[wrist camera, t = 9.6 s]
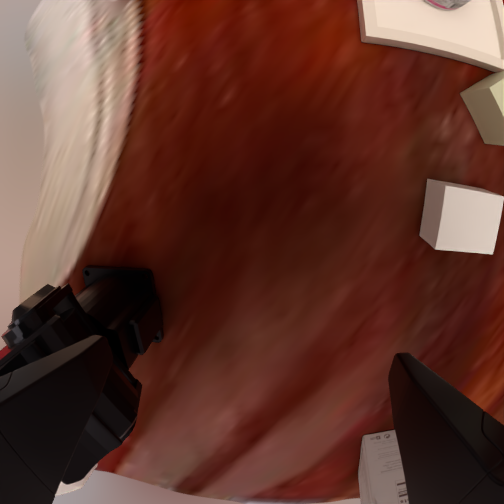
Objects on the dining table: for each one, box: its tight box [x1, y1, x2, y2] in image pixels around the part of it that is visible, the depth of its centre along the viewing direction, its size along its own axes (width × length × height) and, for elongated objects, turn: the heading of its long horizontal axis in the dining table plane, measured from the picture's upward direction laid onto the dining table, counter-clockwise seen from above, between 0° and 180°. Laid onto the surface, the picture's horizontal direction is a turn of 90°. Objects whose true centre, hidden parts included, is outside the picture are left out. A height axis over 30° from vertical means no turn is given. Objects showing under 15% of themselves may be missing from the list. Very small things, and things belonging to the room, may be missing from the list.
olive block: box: [460, 71, 504, 146], centre depth 14 cm, size 4×4×4 cm
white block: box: [419, 179, 504, 254], centre depth 18 cm, size 5×4×3 cm
